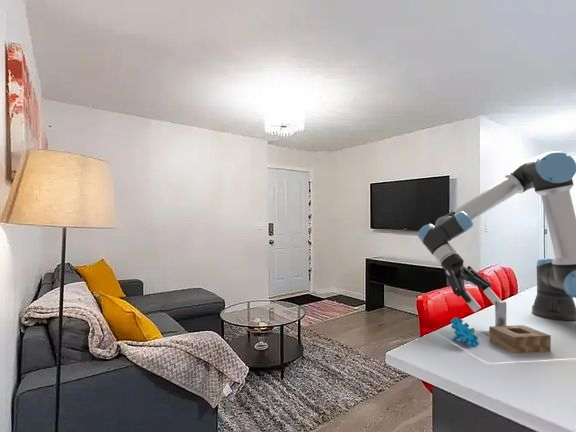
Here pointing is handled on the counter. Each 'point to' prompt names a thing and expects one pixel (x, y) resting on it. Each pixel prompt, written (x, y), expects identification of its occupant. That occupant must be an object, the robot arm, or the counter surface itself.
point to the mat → (486, 333)
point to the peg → (500, 313)
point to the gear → (464, 332)
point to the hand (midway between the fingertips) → (488, 307)
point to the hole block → (520, 339)
